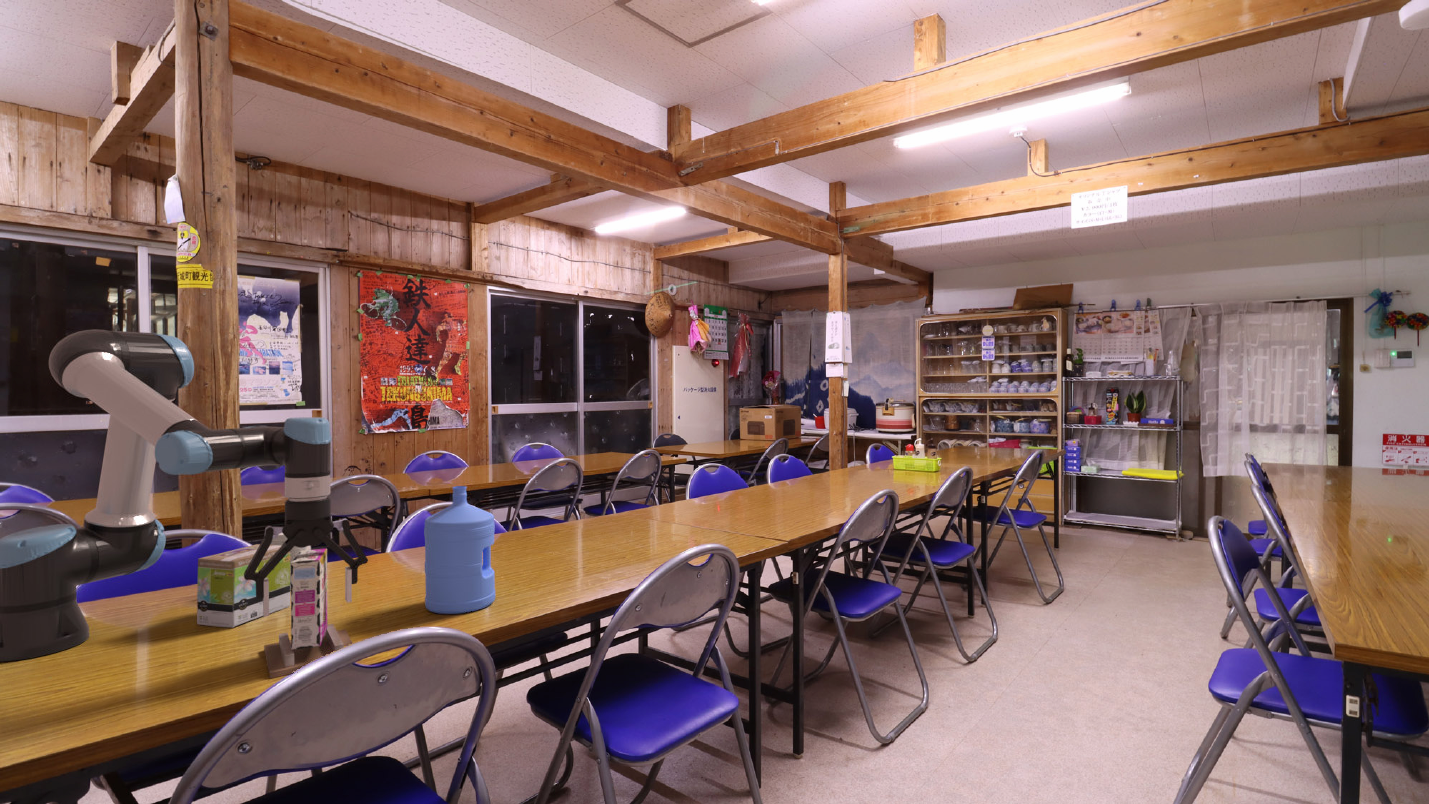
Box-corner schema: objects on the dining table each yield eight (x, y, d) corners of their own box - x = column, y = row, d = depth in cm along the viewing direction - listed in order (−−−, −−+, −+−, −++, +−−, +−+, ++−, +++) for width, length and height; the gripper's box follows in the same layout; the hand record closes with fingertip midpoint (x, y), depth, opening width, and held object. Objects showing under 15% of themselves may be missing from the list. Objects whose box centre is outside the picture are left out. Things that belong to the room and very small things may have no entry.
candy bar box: (322, 647, 124) (320, 559, 123) (290, 651, 122) (288, 562, 121) (329, 627, 134) (327, 547, 133) (300, 631, 132) (298, 549, 131)
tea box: (234, 629, 142) (233, 560, 142) (196, 625, 144) (194, 558, 144) (292, 606, 157) (291, 544, 156) (256, 603, 159) (255, 542, 158)
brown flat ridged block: (269, 678, 117) (269, 661, 117) (264, 650, 130) (264, 635, 130) (358, 658, 126) (358, 643, 126) (345, 634, 138) (344, 619, 138)
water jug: (438, 620, 146) (437, 494, 146) (416, 603, 158) (414, 486, 158) (506, 605, 157) (505, 487, 156) (480, 590, 168) (479, 480, 168)
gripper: (227, 507, 117) (228, 626, 117) (383, 494, 132) (383, 600, 132) (227, 501, 123) (227, 614, 123) (376, 489, 138) (376, 590, 138)
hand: (308, 607), depth 128 cm, fingers open, 13 cm apart
